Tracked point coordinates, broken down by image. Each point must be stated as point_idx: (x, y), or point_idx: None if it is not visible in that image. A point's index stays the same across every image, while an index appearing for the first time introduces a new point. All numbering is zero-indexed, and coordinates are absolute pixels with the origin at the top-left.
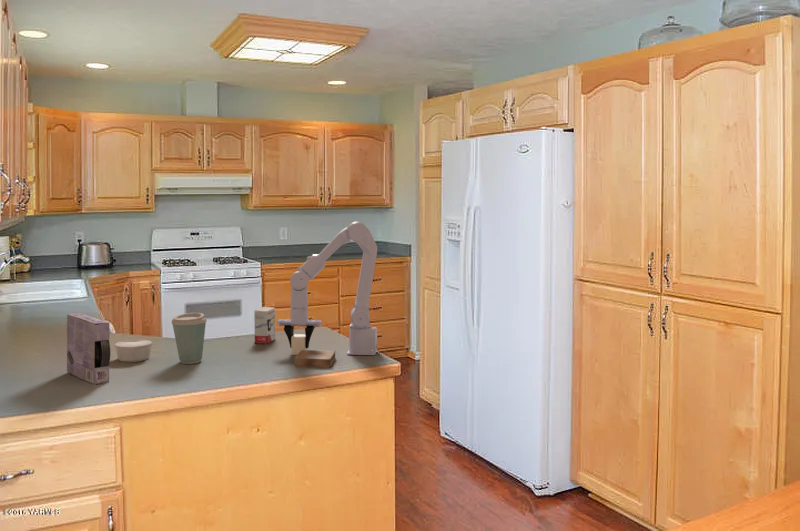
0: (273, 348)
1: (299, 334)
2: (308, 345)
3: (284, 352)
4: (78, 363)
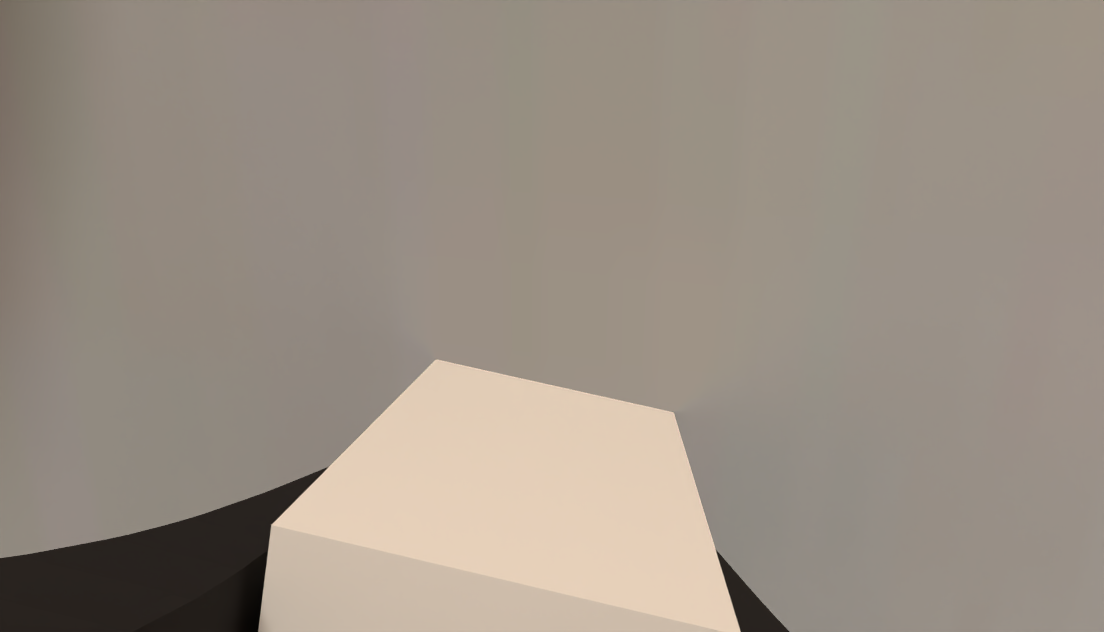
0: (37, 68)
1: (457, 603)
2: None
3: (273, 405)
4: None
